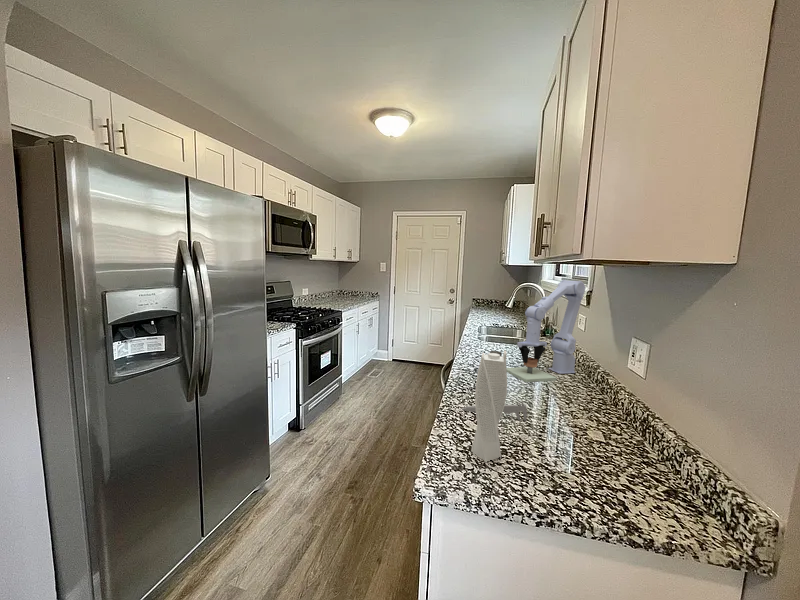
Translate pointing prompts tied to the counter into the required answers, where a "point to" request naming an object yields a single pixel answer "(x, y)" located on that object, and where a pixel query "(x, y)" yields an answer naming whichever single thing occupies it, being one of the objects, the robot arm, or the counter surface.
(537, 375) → the post board
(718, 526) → the counter surface
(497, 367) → the skyscraper
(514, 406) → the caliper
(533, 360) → the collar
